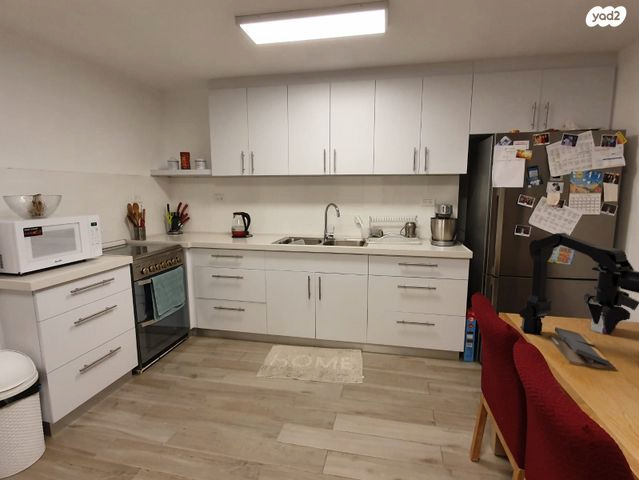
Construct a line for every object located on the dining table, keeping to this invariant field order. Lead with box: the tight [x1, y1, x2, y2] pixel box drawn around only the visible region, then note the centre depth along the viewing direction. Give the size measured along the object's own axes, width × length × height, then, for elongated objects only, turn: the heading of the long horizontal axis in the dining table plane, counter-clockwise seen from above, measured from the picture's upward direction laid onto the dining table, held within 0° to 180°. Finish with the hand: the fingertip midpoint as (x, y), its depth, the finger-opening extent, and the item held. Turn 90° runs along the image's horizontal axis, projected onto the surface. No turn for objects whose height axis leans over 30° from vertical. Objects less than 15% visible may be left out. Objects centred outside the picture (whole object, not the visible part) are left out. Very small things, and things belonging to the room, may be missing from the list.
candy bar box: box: [589, 306, 619, 335], centre depth 144 cm, size 11×5×16 cm, turn 118°
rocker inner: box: [554, 326, 596, 348], centre depth 129 cm, size 10×10×2 cm
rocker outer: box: [565, 337, 611, 365], centre depth 119 cm, size 10×10×2 cm
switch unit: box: [548, 334, 616, 371], centre depth 125 cm, size 13×22×2 cm, turn 161°
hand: (602, 328), depth 117 cm, fingers open, 9 cm apart
